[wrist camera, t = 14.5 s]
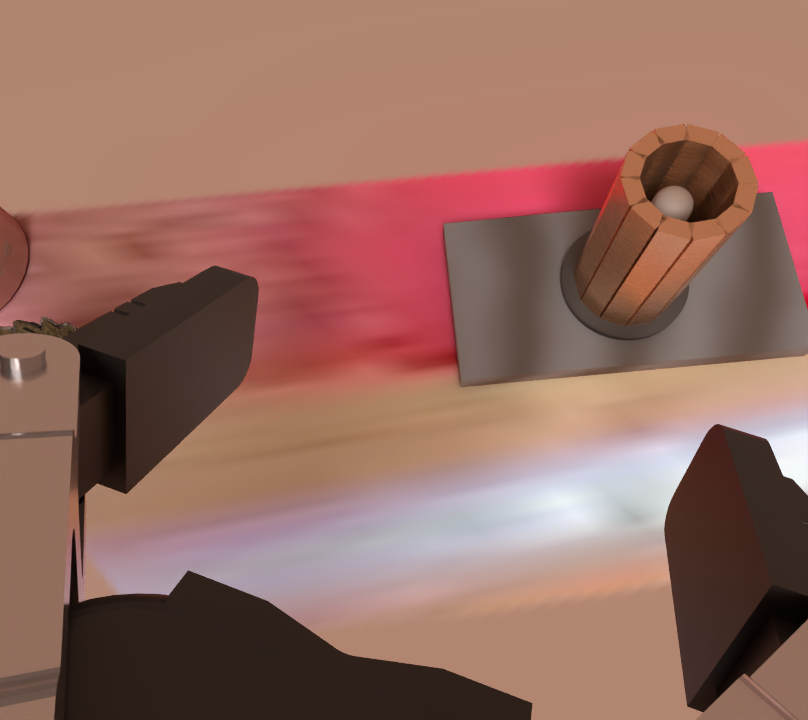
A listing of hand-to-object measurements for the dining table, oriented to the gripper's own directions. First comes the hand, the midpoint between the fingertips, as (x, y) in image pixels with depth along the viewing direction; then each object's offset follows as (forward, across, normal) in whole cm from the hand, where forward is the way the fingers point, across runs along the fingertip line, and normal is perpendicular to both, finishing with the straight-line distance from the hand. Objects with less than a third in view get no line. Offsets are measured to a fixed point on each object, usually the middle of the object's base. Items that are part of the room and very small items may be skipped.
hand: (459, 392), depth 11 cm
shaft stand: (+29, -6, +7) cm, 31 cm away
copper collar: (+28, -6, +6) cm, 29 cm away
